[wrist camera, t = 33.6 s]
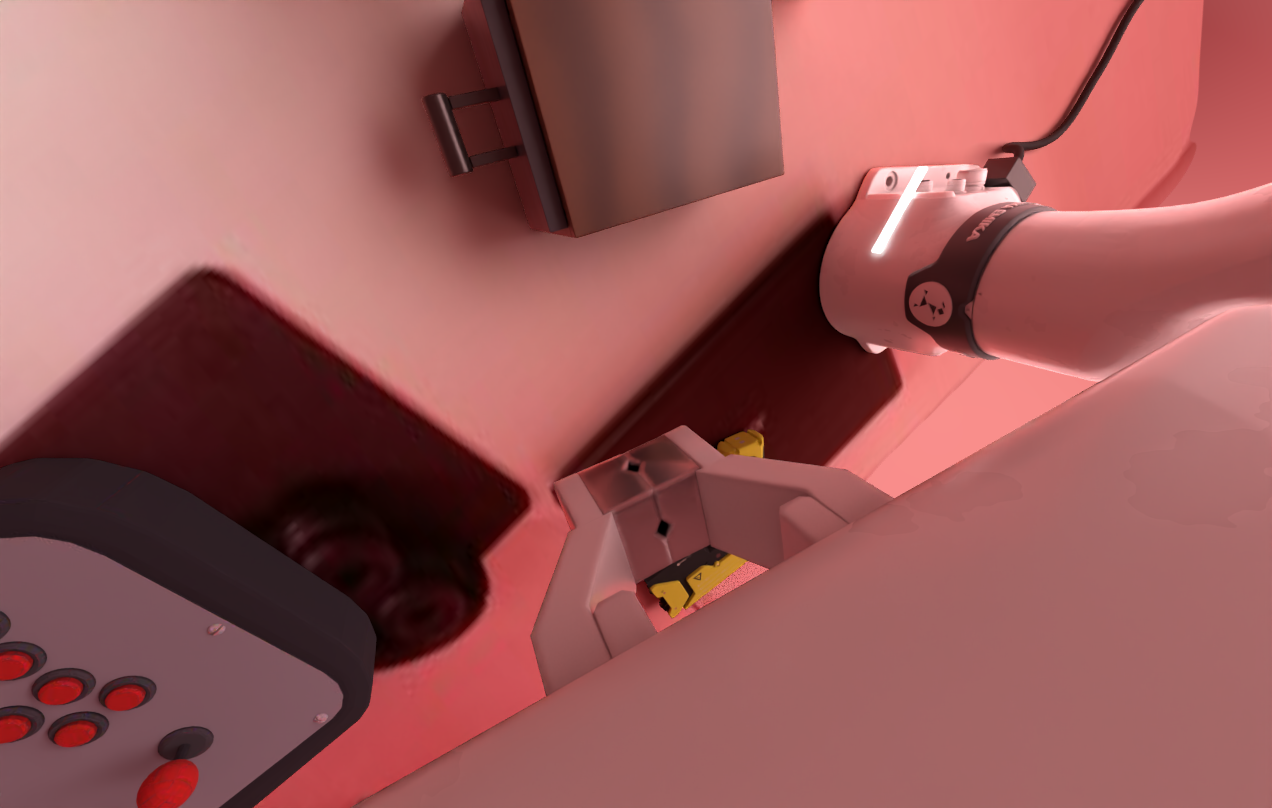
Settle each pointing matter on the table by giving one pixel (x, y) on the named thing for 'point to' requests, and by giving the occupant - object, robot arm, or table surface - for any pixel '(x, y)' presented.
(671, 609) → the stun gun
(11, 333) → the table surface
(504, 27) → the drawer
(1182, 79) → the table surface
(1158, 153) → the table surface
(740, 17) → the cabinet
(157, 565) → the arcade joystick
